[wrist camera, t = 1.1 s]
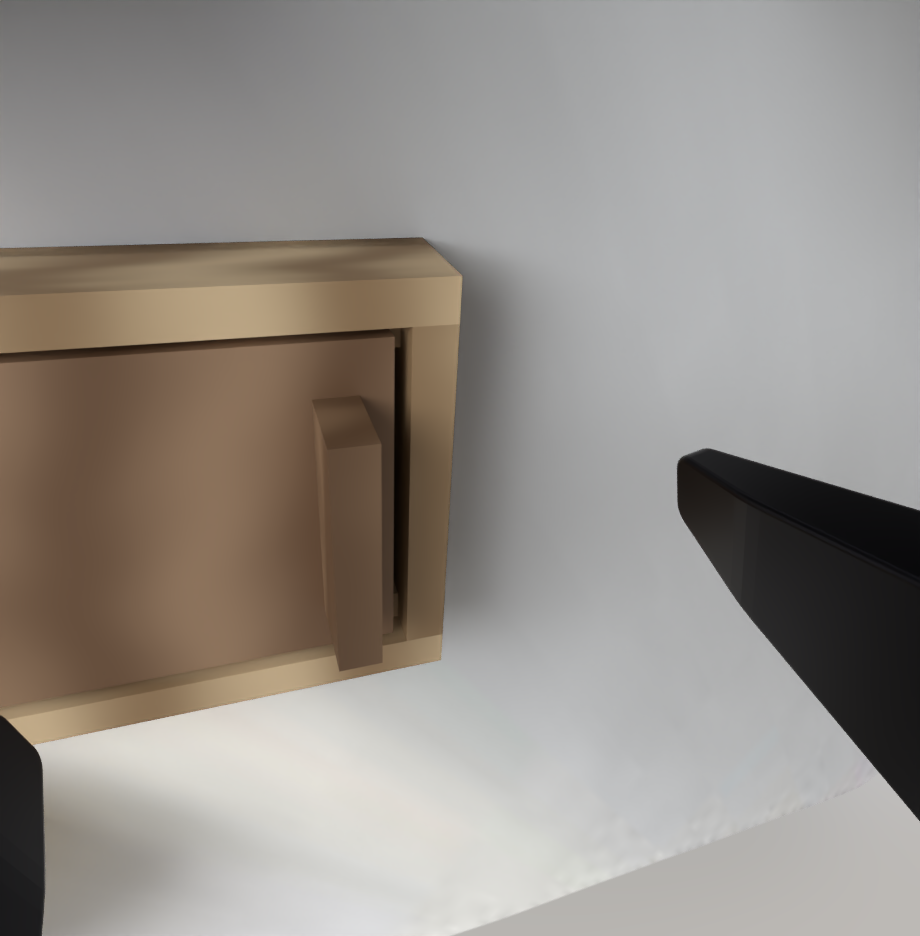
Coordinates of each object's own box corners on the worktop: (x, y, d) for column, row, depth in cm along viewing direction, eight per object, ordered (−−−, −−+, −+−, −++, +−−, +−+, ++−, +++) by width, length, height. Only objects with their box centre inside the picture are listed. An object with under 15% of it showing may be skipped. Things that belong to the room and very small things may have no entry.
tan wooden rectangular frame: (422, 237, 20) (462, 275, 17) (413, 589, 26) (440, 659, 24) (-427, 259, 14) (-581, 320, 11) (-163, 691, 21) (-219, 796, 18)
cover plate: (385, 322, 18) (421, 379, 15) (386, 611, 23) (413, 692, 20) (-371, 368, 14) (-515, 460, 11) (-159, 710, 19) (-219, 831, 16)
